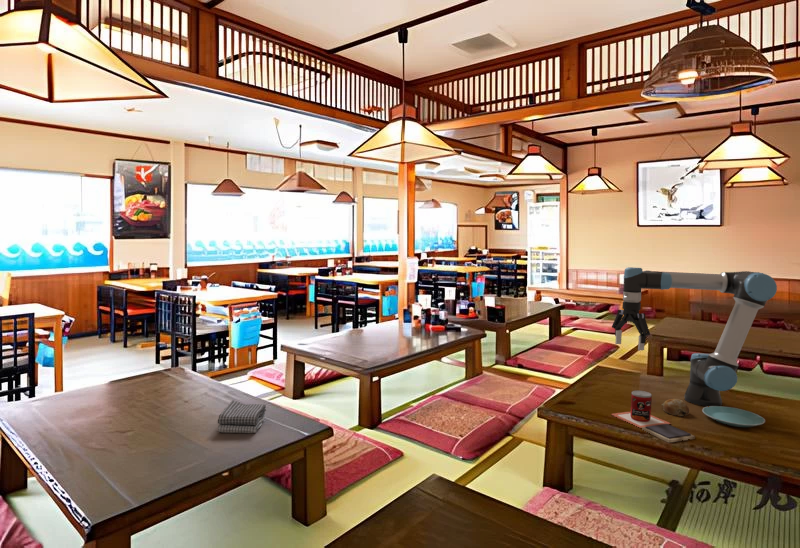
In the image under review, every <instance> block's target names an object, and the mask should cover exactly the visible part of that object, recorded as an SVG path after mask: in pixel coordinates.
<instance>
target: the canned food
mask: <svg viewBox="0 0 800 548" xmlns="http://www.w3.org/2000/svg"><path fill="white" fill-rule="evenodd" d="M652 397H653V395H652V392H648V391H644V390H632V391H631V397H630V399H631V400H630V412H631V418H632V419H633V420H636V421H640V422H648V421H650V419H651V415H652Z"/></svg>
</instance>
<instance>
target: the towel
mask: <svg viewBox="0 0 800 548" xmlns="http://www.w3.org/2000/svg"><path fill="white" fill-rule="evenodd" d="M266 406H267V405H266V404H259V403H258V404H257V403H255V404H254V403H252V404H250V403H249V404H245V403H244V404H243V403H241V402H239V401H236V400H231V401H230V403H228V405H227V406H226V407H225V408H224V409H223V411H222V412H221V413H220V414H219V416H218V418H217V424H218V426H217V430H218V431H217V432H219V433H227V434H228V433H234V434H235V433H237V434H238V433H239V434H241V433H242V434H255V433H257V431H258V430H259V428H261V426H262V425H263V421H264V419H265V418H266V411H267V409H266Z"/></svg>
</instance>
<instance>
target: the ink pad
mask: <svg viewBox="0 0 800 548" xmlns="http://www.w3.org/2000/svg"><path fill="white" fill-rule="evenodd" d="M643 430H644V431H643ZM641 431H643V432H645V431H646V432H645V433H647V432H648V433H647V434H649V433H650V435H652V436H654V437H655V438H658V439H660V440H662V441H664V442H667V443H669V444H670V443H675V442H681V441H682V440H683V441H689V440H688V439H690V440H695V439H696V436H695V435H693V434H692V433H689V432H688V431H685V430H682V429H681V428H679V427H675V426H673V425H669V424H660V425H653V426H646V427H642V430H641Z"/></svg>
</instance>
